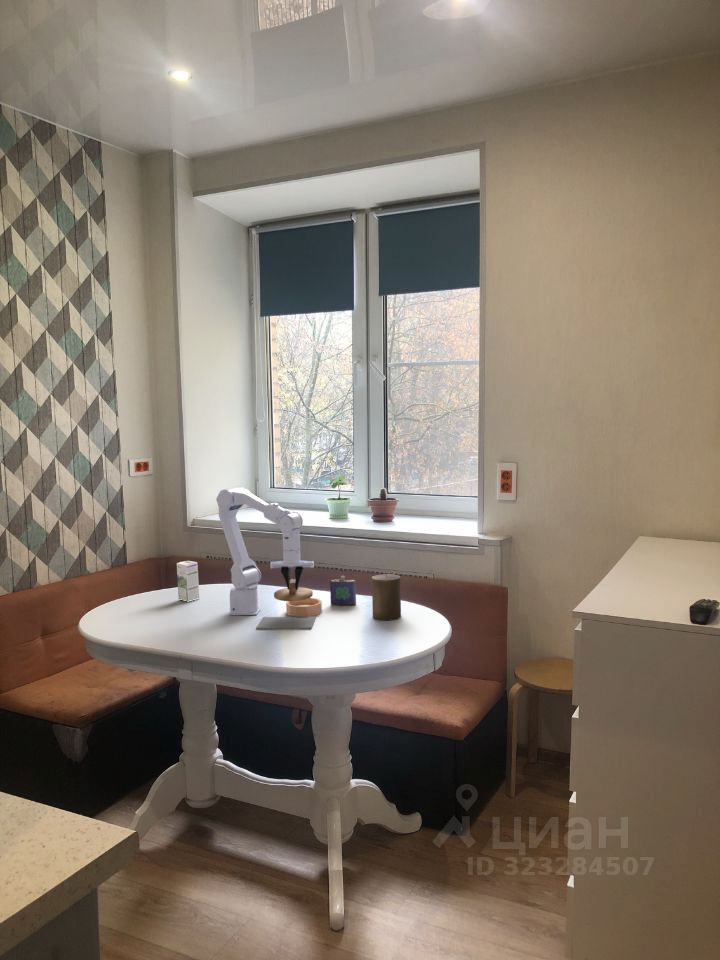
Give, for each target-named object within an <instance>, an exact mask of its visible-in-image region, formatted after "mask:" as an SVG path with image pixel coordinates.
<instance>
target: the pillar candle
mask: <svg viewBox="0 0 720 960" xmlns="http://www.w3.org/2000/svg"><path fill="white" fill-rule="evenodd" d="M371 591H372V592H371V593H372V594H371V595H372V597H371V598H372V599H371V600H372V602H371V603H372V617H373V619H376V620H380V621H391V620H390V619H394V620H397V619H396V618H398V617H400V616H401V617H402V600H401V599H402V597H401V594H402V593H401V592H402V591H401V576H400V575H398V574H390V573H385V574H384V573H383V574H376V575H374V576H373V575H372V576H371ZM401 617H400V618H401Z"/></svg>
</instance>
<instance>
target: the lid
mask: <svg viewBox="0 0 720 960" xmlns="http://www.w3.org/2000/svg"><path fill="white" fill-rule="evenodd" d="M295 582H296V579H295V578H294V579H293V578H290V582H289V590H288V588H287V587H285V588H280V589H278V590H276V591H274V592H273V598H274V599H276V600H278V601H280V602H281V601H282V602H287V601H300V600H305V599H308V598H313V596H314V595H313V594H314V593H313V590H312V589H311V588H307V587H300V586H298V589H297V590H296V588H295Z"/></svg>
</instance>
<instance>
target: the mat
mask: <svg viewBox="0 0 720 960" xmlns="http://www.w3.org/2000/svg"><path fill="white" fill-rule="evenodd" d="M316 619H317V616H309V617H295V616H263V617H262V618H261V619H260V621H259V623H258V624H257V626H256V628H255V630H256V629H263V630H312V629H313V627H314V624H315V622H316Z"/></svg>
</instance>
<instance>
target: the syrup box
mask: <svg viewBox="0 0 720 960" xmlns="http://www.w3.org/2000/svg"><path fill="white" fill-rule="evenodd" d="M198 567H199V565H198V562H197V561H191V560H184V561H180V562H176V574H177V575H176V576H177V593H178V594H177V595H178V600H179V599H182V600H186V601H189V600H193V599H197V598H199V599H200V588H199V587H200V586H199V570H198V569H199V568H198Z"/></svg>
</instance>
